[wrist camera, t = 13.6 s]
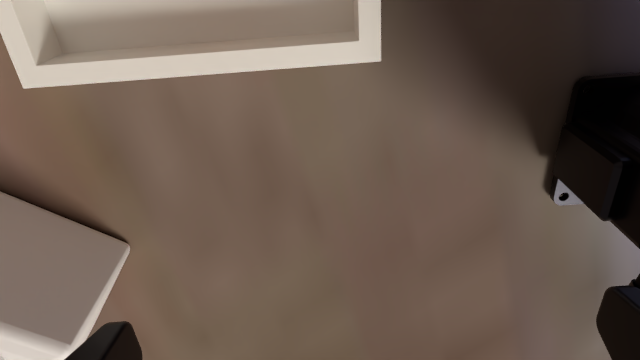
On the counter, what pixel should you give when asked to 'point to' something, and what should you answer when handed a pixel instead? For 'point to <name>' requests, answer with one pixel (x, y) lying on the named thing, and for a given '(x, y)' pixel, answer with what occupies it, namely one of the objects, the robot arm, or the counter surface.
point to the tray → (182, 37)
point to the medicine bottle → (51, 280)
